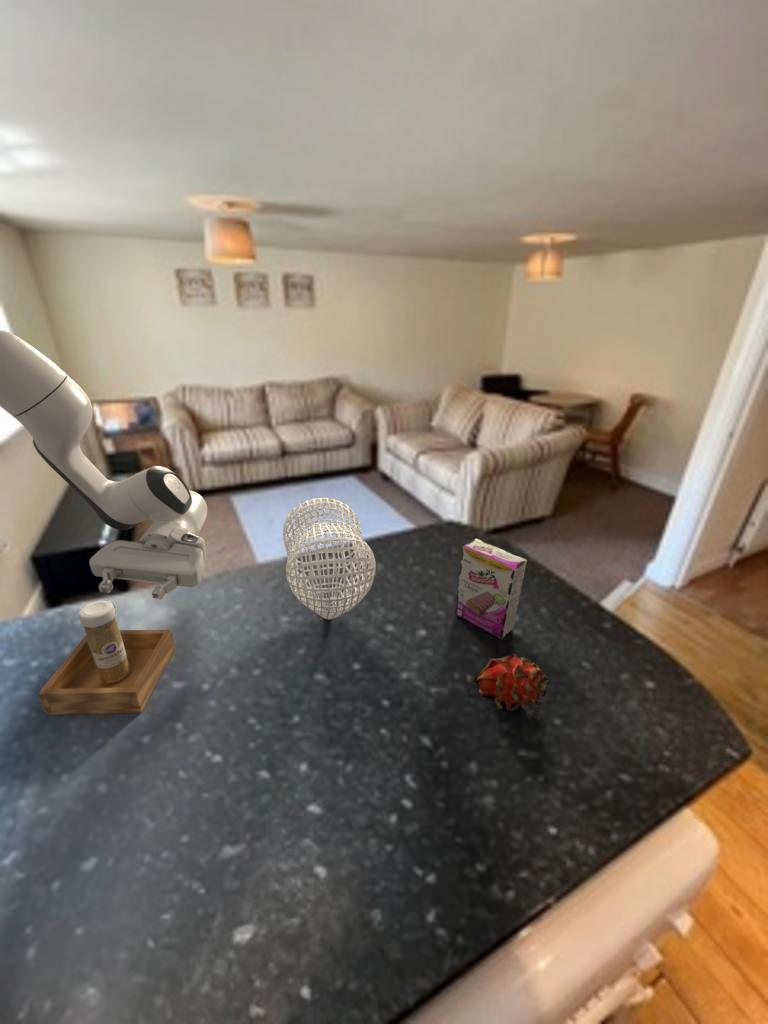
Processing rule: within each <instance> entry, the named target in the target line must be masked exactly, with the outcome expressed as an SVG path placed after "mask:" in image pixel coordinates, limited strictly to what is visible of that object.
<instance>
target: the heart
mask: <svg viewBox="0 0 768 1024" xmlns="http://www.w3.org/2000/svg"><path fill="white" fill-rule="evenodd" d="M326 504H327V505H326ZM326 510H328V513H326ZM320 511H322V513H320ZM333 511H334V513H333ZM314 512H315V514H314ZM339 513H340V515H339ZM308 514H309V515H308ZM298 516H299V517H298ZM345 516H346V517H347V518H346V517H345ZM320 517H323V518H321V519H320ZM326 517H329V518H326ZM315 518H317V520H315ZM333 518H334V519H333ZM293 520H294V521H293ZM310 520H311V522H309V521H310ZM333 522H335V523H333ZM304 524H305V525H304ZM282 536H283V537H282V540H283V545H284V547H285V551H286V555H287V559H286V565H285V576H286V580H287V584H288V586H289V588H290V591H291V592H292V593H293V595H294V596H295V598H296V599H297V600H298V601H299V602H300V603H301V604H302V605H304V606H305V607H306V608H308V610H311V611H312V612H314V613H315V614H317V615H318V616H320V617H321V618H323V619H325V620H333V619H336V618H338V617H339V616H341V615H342V614H345V613H347V612H349V611H350V610H352V609H353V608H355V607H356V606H357V605H358V604H359V603H360V602H361V601H362V600H363V599H364V598H365V596H366V595H367V594H368V593H369V592H370V590H371V589H372V586H373V584H374V581H375V577H376V572H377V571H376V570H377V567H376V566H377V564H376V563H377V562H376V558H375V555H374V552H373V550H372V549H371V546H369V545H368V543H367V542H366V541H365V540H364V539H363V538H362V526H361V522H360V519H359V516H358V515H357V514H356V512H355V511H354V510H353V508H351V507H350V506H349V505H348V504H346V503H345V502H342V501H341V500H339V499H336V498H331V497H315V498H314V497H313V498H311V499H307V500H304V501H303V502H300V503H299V504H297V505H296V506H295V507H294V508H293V509H292V510H291V511H290V512H289V513H288V515H287V516H286V518H285V520H284V524H283V527H282ZM327 536H329V537H330V538H327ZM333 536H335V537H333ZM317 538H318V540H317ZM312 539H313V541H311V540H312ZM350 544H351V545H350ZM322 545H323V547H322ZM328 545H331V547H330V548H328V547H329V546H328ZM335 545H336V547H335ZM345 545H346V546H345ZM312 546H313V548H314V550H312V549H311V547H312ZM318 546H319V547H318ZM306 548H307V549H306ZM303 551H304V552H303ZM346 552H347V553H348V555H346ZM323 554H324V555H325V559H324V557H323ZM329 554H332V555H331V556H332V558H330V557H329ZM336 554H337V557H336ZM353 554H354V555H353ZM313 555H314V556H315V560H313V558H312V557H313ZM340 555H341V558H340ZM352 555H353V556H352ZM303 557H304V558H303ZM320 557H321V559H320ZM304 559H305V561H304ZM324 565H326V566H324ZM330 565H332V566H330ZM337 565H338V566H337ZM314 566H316V567H315V568H314ZM321 566H322V567H321ZM348 566H349V567H348ZM305 567H306V569H305ZM341 569H342V573H340V571H341ZM321 570H322V571H321ZM325 570H326V574H325ZM330 570H332V574H330ZM299 571H300V572H299ZM315 571H317V575H316V573H315ZM346 571H347V572H346ZM306 573H307V574H308V575H307V574H306ZM349 576H350V577H349ZM339 578H340V580H339ZM348 578H349V579H348ZM322 579H323V582H322ZM326 579H327V582H326ZM330 579H332V580H331V581H330ZM318 580H319V581H318ZM334 580H335V581H334ZM314 581H315V582H314ZM318 582H319V583H318ZM342 582H343V583H342ZM326 585H327V586H326ZM334 585H335V586H334ZM323 586H324V587H323ZM324 593H325V596H324ZM327 595H328V597H327Z"/></svg>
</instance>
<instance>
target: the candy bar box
mask: <svg viewBox="0 0 768 1024" xmlns="http://www.w3.org/2000/svg"><path fill="white" fill-rule="evenodd" d="M527 563H528V560H527V559H526V558H523V557H521V556H518V555H516V554H514V553H511V552H510V551H507V550H504V549H502V548H499V547H498V546H495V545H492V544H490V543H489V542H485V541H484V540H481V539H479V538H475V539H473V540H471V541H470V542H469V543H466V544H464V545H463V546H462V551H461V559H460V568H459V575H458V576H459V577H458V579H459V580H458V584H457V593H456V602H455V608H454V609H455V610H454V615H455V614H456V615H455V616H456V617H458V616H459V617H458V618H460V617H461V618H460V619H462V618H463V619H462V620H464V619H465V620H464V621H466V620H467V621H466V622H467V623H469V622H470V623H469V624H471V623H472V624H471V625H473V624H474V625H473V626H475V625H476V626H475V627H477V626H478V627H480V628H483V629H485V630H486V631H489V632H490V633H492V634H494V635H496V636H498V637H500V638H503V637H504V636H505V635H506V634H508V633H509V632H510V631H511V630H512V629H513V628H514V629H515V624H516V619H517V614H518V607H519V603H520V599H521V592H522V588H523V585H524V584H523V582H524V578H525V575H526V569H527ZM478 627H477V628H478ZM480 628H479V629H480ZM514 629H513V630H514ZM513 630H512V631H513ZM486 631H485V632H486ZM512 631H511V632H512ZM511 632H510V633H511ZM510 633H509V634H510ZM509 634H508V635H509Z"/></svg>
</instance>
